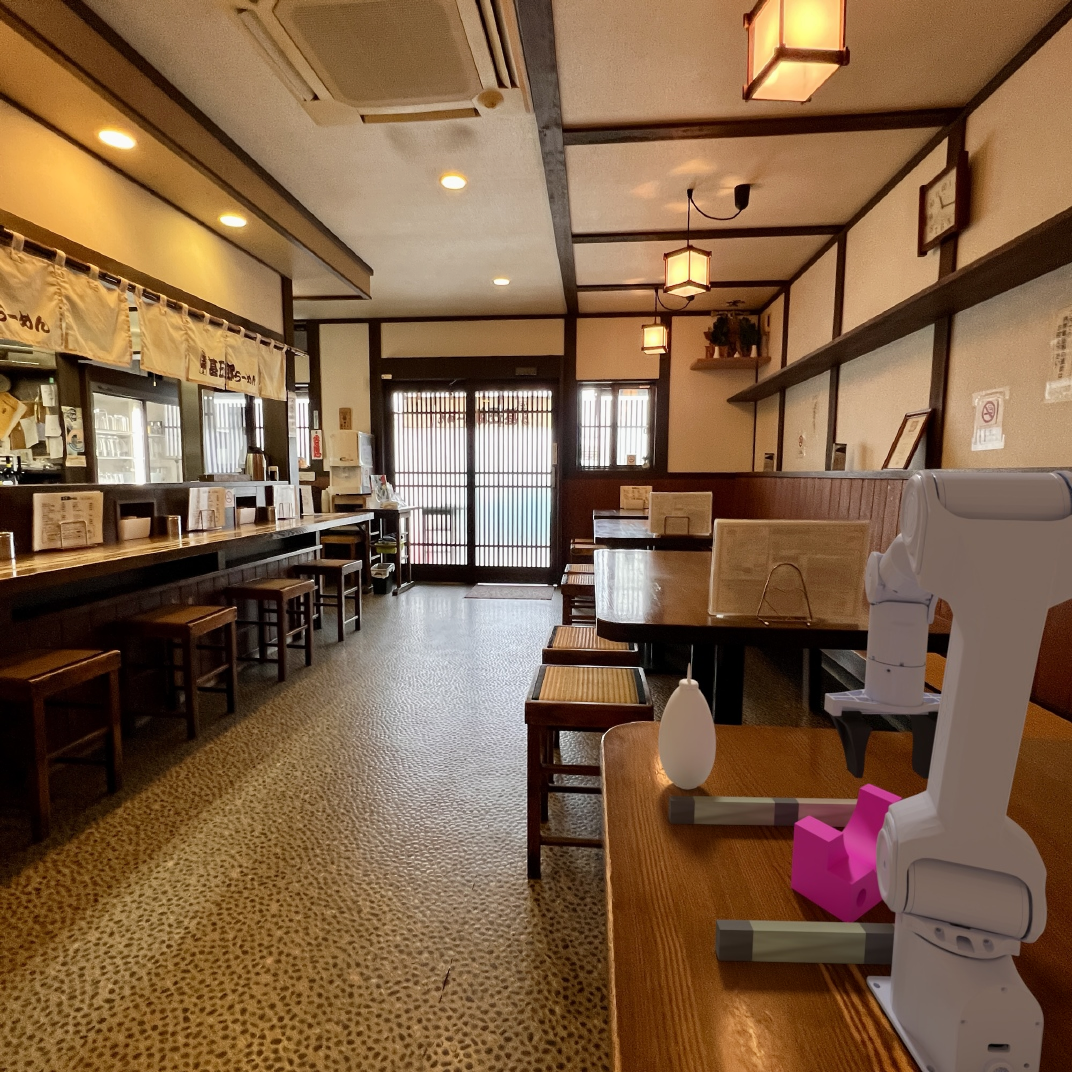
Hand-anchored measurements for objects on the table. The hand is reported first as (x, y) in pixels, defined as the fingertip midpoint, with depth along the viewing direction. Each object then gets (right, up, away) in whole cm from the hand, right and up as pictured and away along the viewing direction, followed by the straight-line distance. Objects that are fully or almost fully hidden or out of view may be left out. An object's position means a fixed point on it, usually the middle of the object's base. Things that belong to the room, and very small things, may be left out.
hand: (887, 774), depth 67 cm
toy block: (-5, -10, -3) cm, 12 cm away
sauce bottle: (-19, -8, +15) cm, 26 cm away
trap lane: (-12, -10, -4) cm, 16 cm away
